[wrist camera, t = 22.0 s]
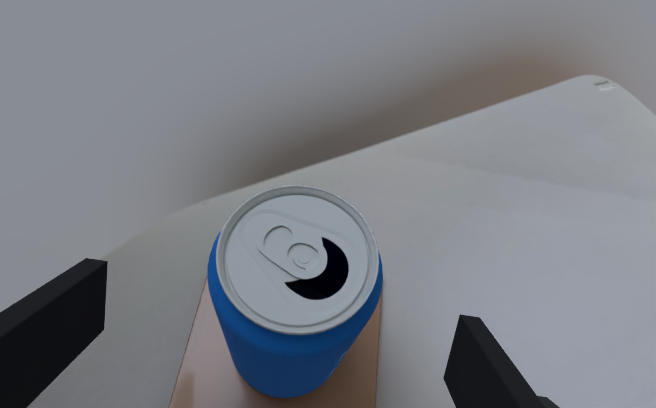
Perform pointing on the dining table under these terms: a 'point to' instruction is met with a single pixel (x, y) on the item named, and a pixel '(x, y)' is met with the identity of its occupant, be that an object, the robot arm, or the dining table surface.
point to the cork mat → (246, 402)
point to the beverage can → (293, 286)
